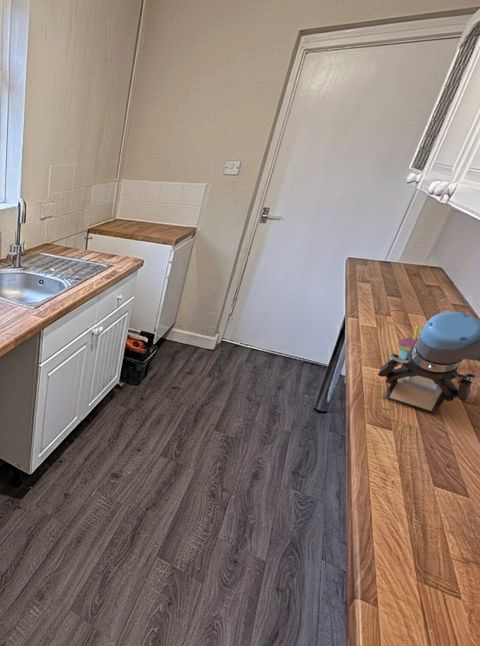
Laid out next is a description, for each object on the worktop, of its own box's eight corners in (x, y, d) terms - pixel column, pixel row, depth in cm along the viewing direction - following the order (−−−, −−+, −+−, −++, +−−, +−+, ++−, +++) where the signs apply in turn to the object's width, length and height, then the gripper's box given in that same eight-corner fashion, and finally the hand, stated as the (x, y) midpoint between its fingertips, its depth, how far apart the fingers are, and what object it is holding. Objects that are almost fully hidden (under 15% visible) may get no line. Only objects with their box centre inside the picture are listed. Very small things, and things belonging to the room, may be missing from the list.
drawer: (428, 418, 103) (446, 384, 99) (386, 404, 109) (401, 371, 105) (437, 392, 114) (454, 361, 110) (398, 381, 119) (413, 351, 115)
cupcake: (394, 360, 133) (410, 326, 128) (389, 350, 139) (404, 318, 134) (432, 368, 128) (450, 333, 123) (425, 357, 134) (442, 324, 130)
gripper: (366, 354, 99) (356, 389, 114) (501, 392, 84) (469, 425, 100) (379, 329, 100) (368, 366, 115) (515, 361, 85) (481, 399, 100)
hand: (415, 393), depth 107 cm, fingers closed on cabinet, 8 cm apart
